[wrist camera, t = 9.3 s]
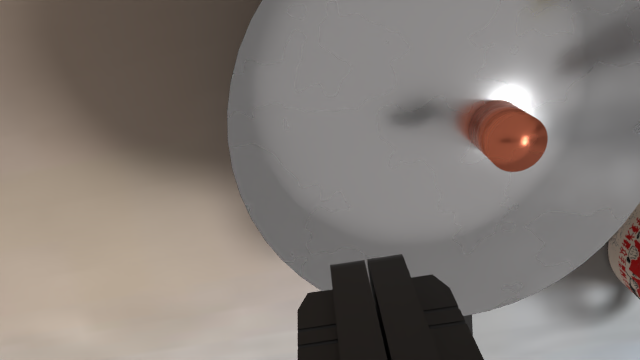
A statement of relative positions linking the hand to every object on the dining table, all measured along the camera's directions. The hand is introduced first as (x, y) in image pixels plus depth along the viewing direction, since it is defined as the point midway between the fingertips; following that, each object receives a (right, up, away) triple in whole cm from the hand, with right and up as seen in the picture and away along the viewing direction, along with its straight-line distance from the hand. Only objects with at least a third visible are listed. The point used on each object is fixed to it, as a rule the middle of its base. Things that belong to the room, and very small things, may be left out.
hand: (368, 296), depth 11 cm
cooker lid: (+4, +5, +9) cm, 11 cm away
